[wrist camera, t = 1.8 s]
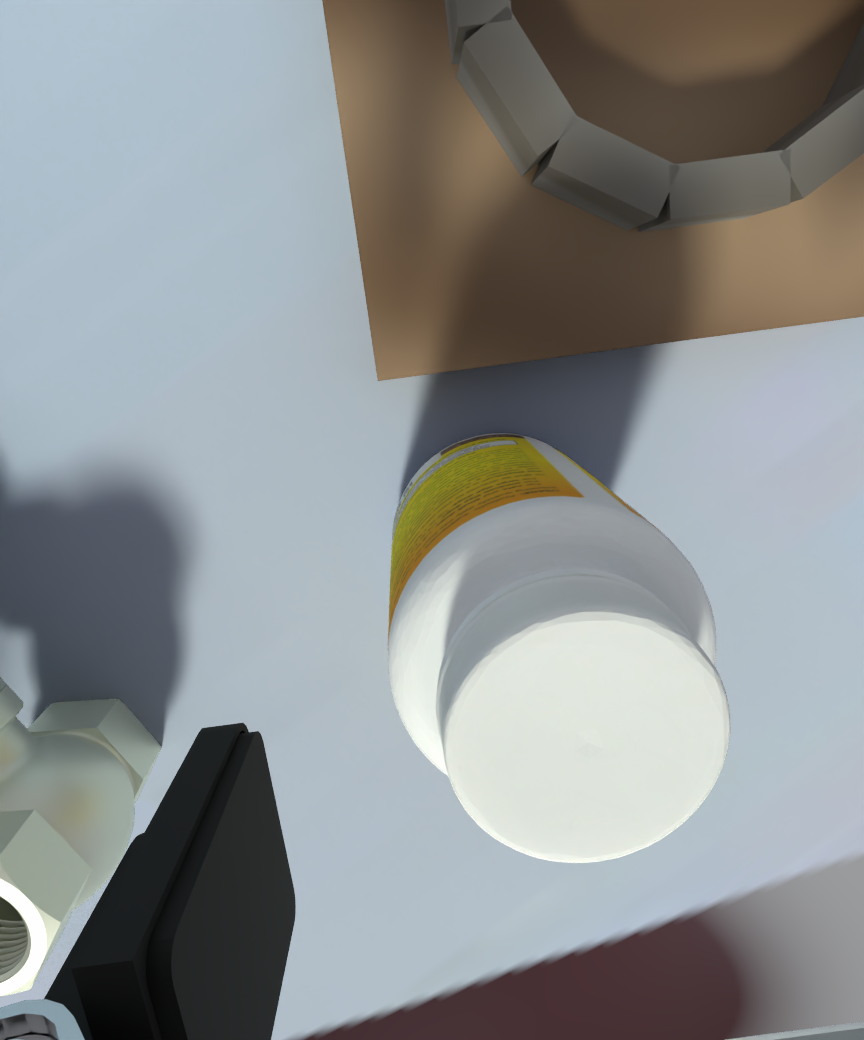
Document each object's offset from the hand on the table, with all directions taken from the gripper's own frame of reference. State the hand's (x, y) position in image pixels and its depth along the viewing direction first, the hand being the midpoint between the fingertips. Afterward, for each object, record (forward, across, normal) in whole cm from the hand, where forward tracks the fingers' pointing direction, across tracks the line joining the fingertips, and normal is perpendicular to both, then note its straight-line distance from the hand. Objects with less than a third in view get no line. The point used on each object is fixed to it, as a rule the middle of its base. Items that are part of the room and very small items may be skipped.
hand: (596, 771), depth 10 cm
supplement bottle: (+10, 0, -1) cm, 10 cm away
